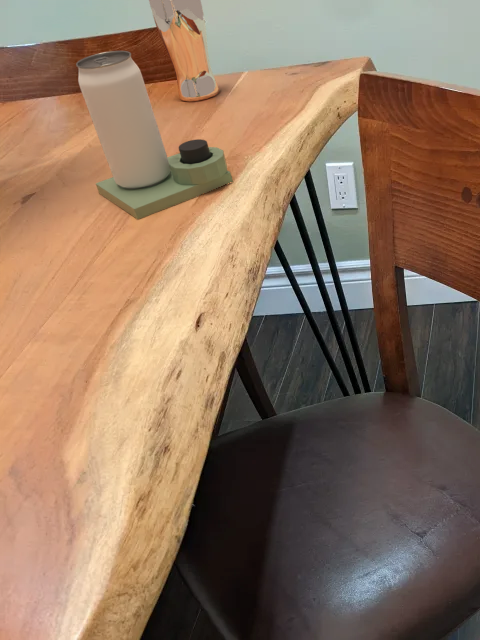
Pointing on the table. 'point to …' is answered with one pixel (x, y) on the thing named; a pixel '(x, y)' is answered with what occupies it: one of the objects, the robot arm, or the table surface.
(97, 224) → the table surface
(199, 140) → the button
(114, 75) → the can
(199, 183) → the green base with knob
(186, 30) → the beer glass
